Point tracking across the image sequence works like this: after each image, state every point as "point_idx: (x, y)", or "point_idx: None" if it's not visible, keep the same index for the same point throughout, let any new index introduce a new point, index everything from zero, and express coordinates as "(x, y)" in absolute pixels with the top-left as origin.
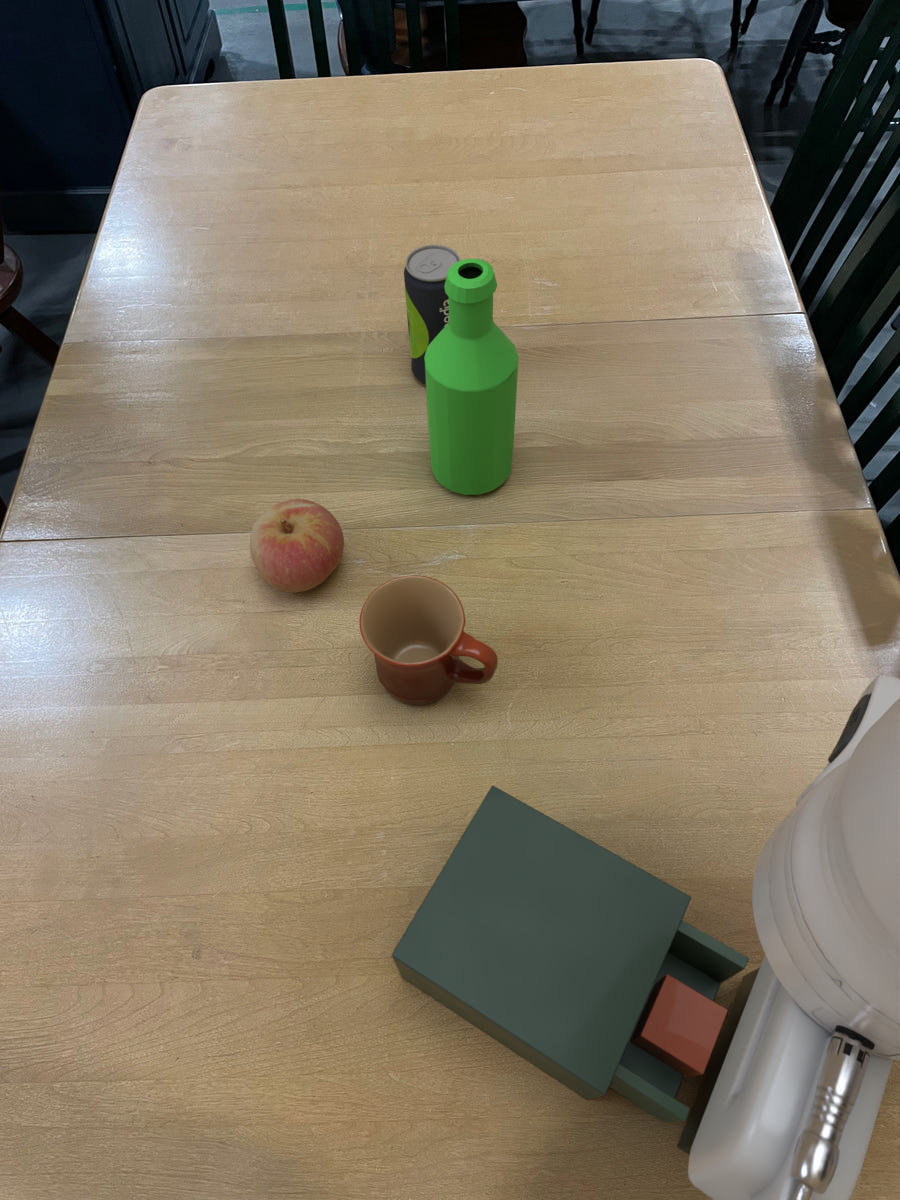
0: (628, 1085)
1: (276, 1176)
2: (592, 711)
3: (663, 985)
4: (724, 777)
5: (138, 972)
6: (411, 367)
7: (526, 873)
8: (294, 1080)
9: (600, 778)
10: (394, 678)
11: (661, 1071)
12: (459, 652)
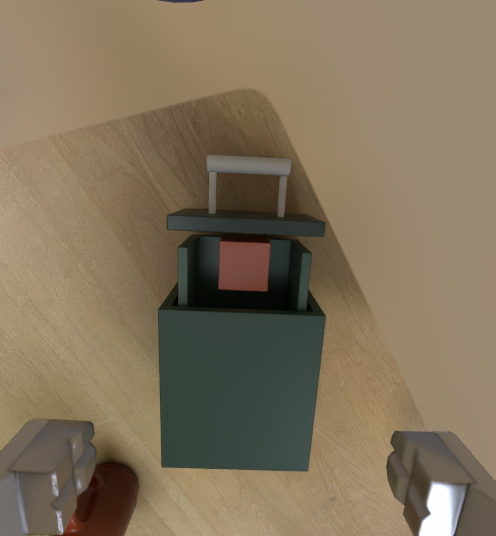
0: (307, 296)
1: (411, 411)
2: (66, 375)
3: (227, 289)
4: (54, 275)
5: (355, 517)
6: None
7: (209, 421)
8: (367, 426)
9: (109, 351)
10: (126, 524)
11: (271, 253)
12: (77, 526)
